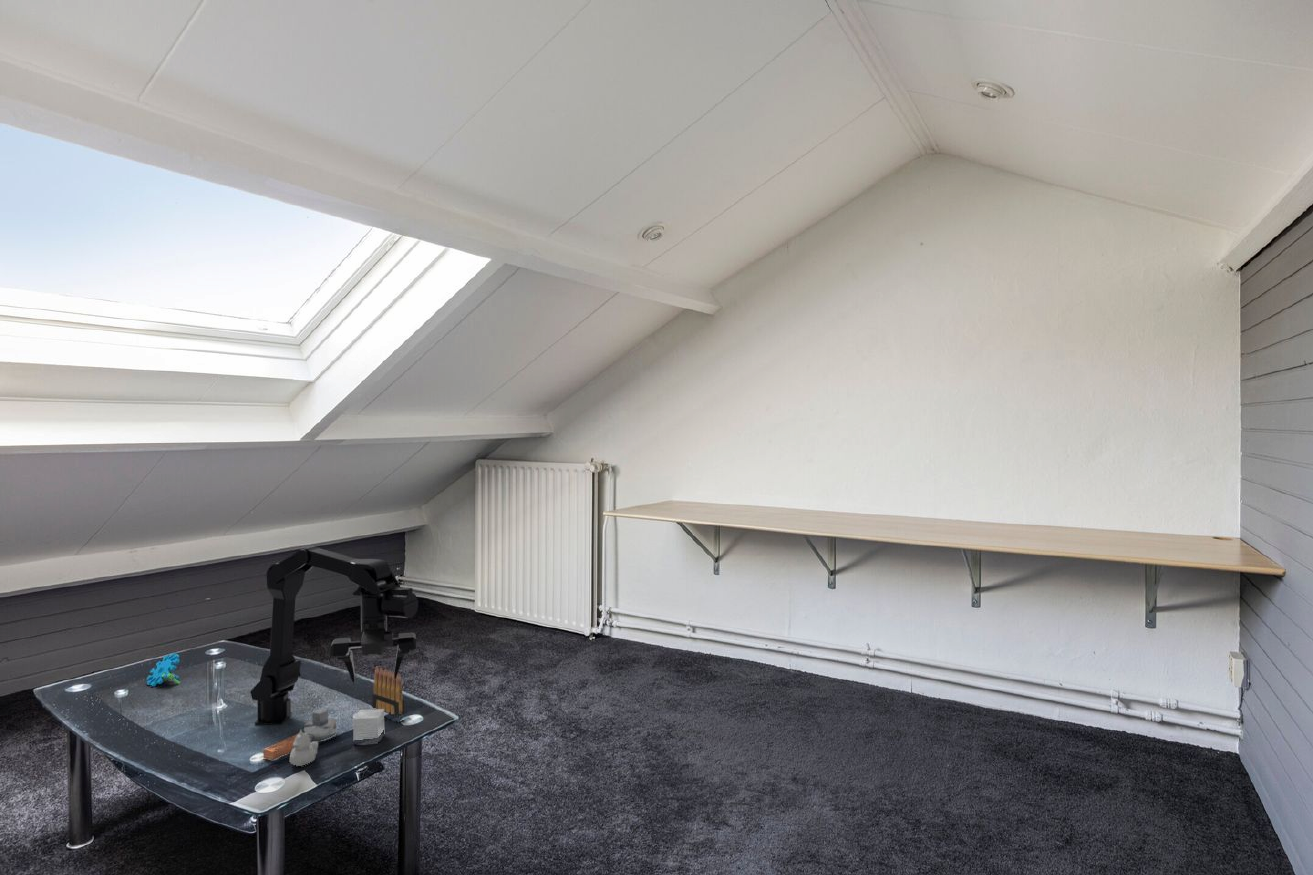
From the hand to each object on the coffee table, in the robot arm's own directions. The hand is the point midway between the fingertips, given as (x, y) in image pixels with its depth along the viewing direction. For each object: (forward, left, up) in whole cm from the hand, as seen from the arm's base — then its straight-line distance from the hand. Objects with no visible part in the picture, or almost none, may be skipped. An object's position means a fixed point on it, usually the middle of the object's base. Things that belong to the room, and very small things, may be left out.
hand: (374, 680), depth 183 cm
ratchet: (-15, -5, -13) cm, 21 cm away
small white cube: (-1, -3, -13) cm, 13 cm away
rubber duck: (-11, -14, -13) cm, 22 cm away
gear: (-68, +40, -13) cm, 80 cm away
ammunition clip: (0, +11, -13) cm, 17 cm away
